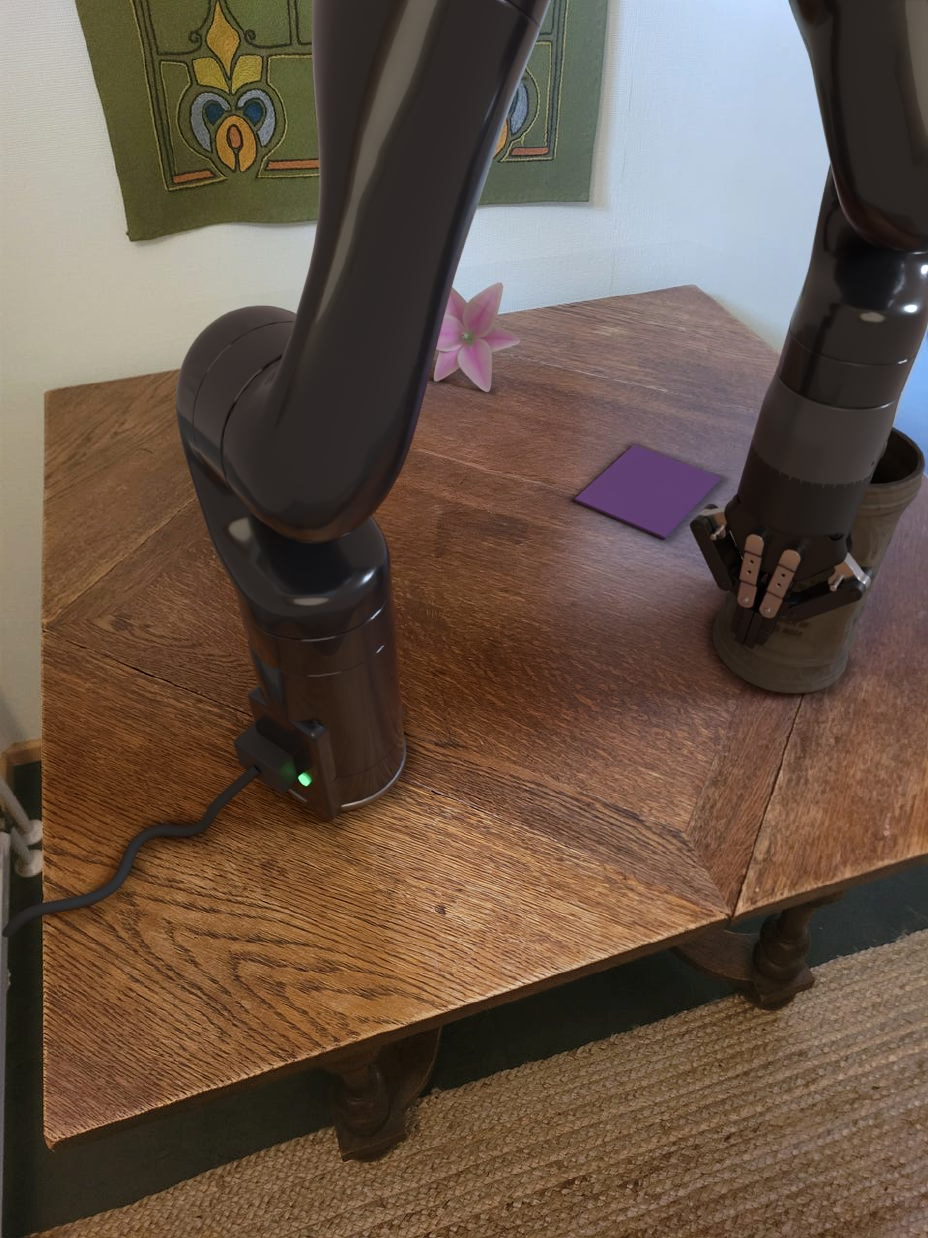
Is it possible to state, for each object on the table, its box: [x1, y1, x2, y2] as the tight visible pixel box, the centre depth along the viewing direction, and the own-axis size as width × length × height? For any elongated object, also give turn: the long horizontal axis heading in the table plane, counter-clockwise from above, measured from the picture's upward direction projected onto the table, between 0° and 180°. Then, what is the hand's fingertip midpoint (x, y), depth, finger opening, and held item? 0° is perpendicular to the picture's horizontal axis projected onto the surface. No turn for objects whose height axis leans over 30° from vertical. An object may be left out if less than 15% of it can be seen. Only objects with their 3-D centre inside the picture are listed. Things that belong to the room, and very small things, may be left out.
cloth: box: [574, 444, 721, 540], centre depth 88 cm, size 12×10×1 cm
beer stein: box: [711, 426, 926, 694], centre depth 67 cm, size 15×11×20 cm
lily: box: [433, 282, 521, 393], centre depth 103 cm, size 12×12×10 cm
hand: (748, 639), depth 66 cm, fingers closed
